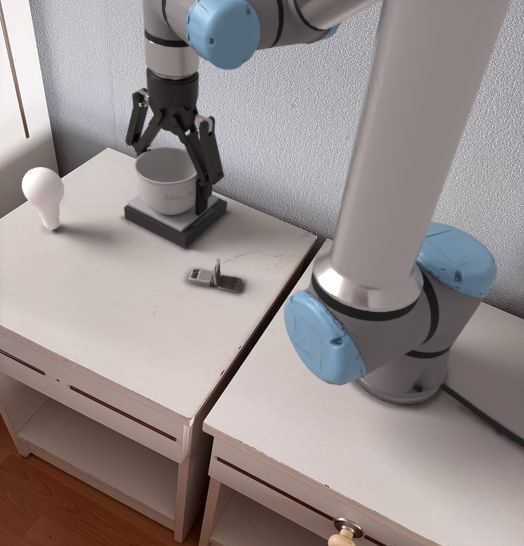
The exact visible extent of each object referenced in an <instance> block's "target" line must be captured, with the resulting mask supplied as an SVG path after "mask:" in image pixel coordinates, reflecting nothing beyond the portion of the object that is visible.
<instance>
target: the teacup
mask: <svg viewBox="0 0 524 546" xmlns="http://www.w3.org/2000/svg"><path fill="white" fill-rule="evenodd" d="M133 168H134V171H135V176H136V184H137V189H138V194H140V196H141V199H142V201H143V202H144V203H145V204H146V205H147V206H148V207H149V208H151V209H152V210H154V211H156V212H158V213H161V214H165V215H176V214H180V213H183V212H185V211H186V210H188V209H190V208H191V207H192V206H194V205H195V200H196V181H197V180H198V179H199V176H198V174H197V172H196V170H195V167H194V165H193V163H192V161H191V159H190V156H189V154H188V152H187V150H186V147H185V148H184V149H182V148H178V147H169V146H164V147H156V148H153V149H151V150H149V151H146V152H144V153H142V154H141V155H140V156H138V158H137V157H136V159H135V160H134V163H133Z"/></svg>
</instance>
